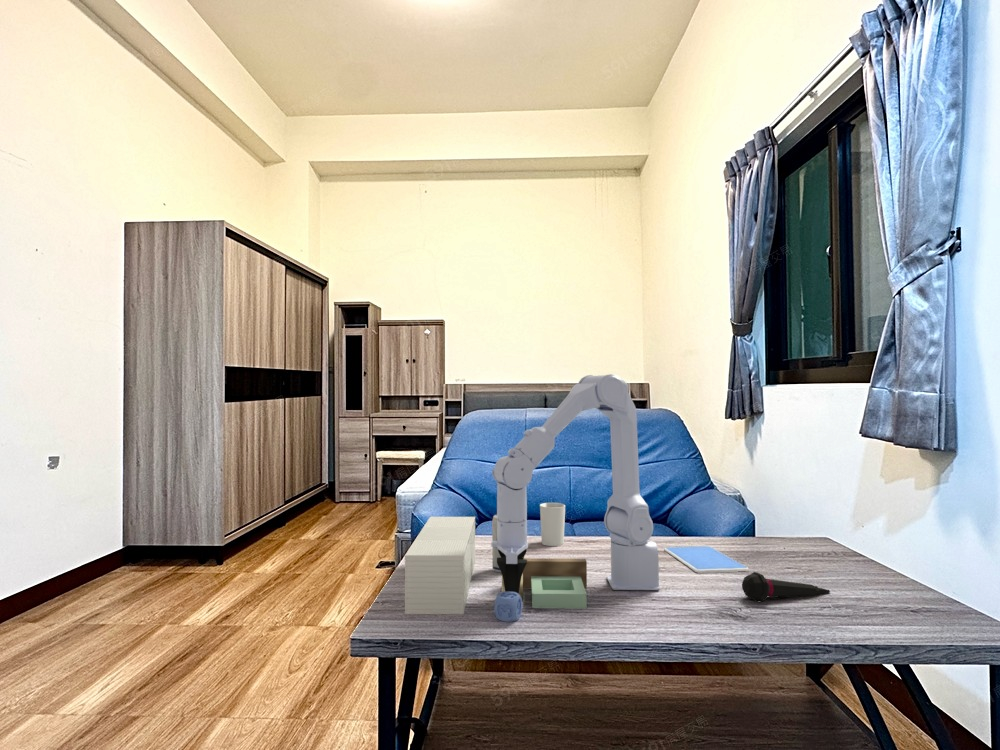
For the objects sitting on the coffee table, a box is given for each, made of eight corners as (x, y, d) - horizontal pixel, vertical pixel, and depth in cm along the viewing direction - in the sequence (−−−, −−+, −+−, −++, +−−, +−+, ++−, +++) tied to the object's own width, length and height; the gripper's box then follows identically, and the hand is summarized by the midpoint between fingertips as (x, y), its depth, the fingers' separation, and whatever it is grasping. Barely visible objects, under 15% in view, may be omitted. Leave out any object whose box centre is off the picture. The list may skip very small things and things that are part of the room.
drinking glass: (559, 539, 157) (558, 501, 157) (569, 545, 150) (569, 506, 151) (536, 541, 155) (536, 503, 155) (546, 547, 148) (545, 508, 149)
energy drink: (514, 574, 127) (513, 519, 127) (490, 573, 128) (490, 518, 128) (518, 567, 132) (517, 514, 132) (495, 565, 133) (495, 513, 133)
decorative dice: (501, 612, 106) (501, 590, 106) (522, 614, 104) (522, 592, 104) (494, 620, 102) (493, 597, 102) (515, 623, 101) (515, 600, 101)
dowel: (522, 597, 113) (522, 561, 113) (522, 605, 109) (522, 567, 109) (502, 597, 113) (502, 561, 113) (501, 604, 109) (501, 567, 109)
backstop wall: (585, 585, 119) (585, 558, 120) (586, 589, 117) (586, 561, 118) (508, 585, 120) (507, 558, 120) (507, 588, 118) (507, 561, 118)
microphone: (821, 605, 116) (737, 601, 112) (817, 577, 118) (735, 571, 114) (841, 606, 112) (754, 601, 108) (836, 576, 113) (751, 570, 110)
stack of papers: (463, 615, 105) (463, 555, 105) (404, 615, 105) (404, 555, 105) (475, 562, 137) (475, 516, 137) (430, 562, 137) (430, 516, 137)
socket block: (580, 591, 117) (580, 576, 117) (586, 610, 107) (586, 594, 107) (531, 591, 117) (531, 576, 118) (532, 610, 107) (532, 593, 108)
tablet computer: (662, 551, 146) (662, 546, 146) (710, 550, 148) (710, 545, 148) (696, 576, 127) (696, 569, 127) (751, 574, 129) (750, 568, 129)
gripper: (492, 511, 119) (493, 578, 118) (489, 528, 104) (489, 604, 104) (527, 511, 119) (527, 578, 118) (528, 528, 104) (528, 605, 104)
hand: (512, 590), depth 111 cm, fingers open, 5 cm apart
